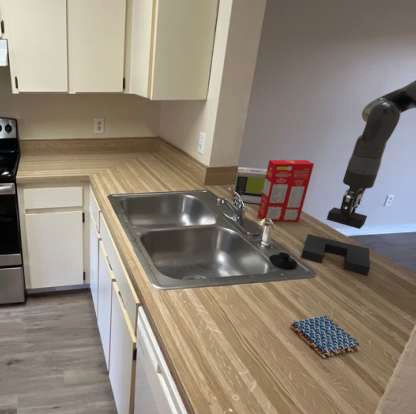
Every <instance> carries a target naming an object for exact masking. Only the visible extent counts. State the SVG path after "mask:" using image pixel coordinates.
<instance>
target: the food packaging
mask: <svg viewBox="0 0 416 414" xmlns="http://www.w3.org/2000/svg"><path fill="white" fill-rule="evenodd" d="M314 166H315V163H314V162H311V161H310V160H307V159H269V160H268V164H267V168H266V169H267V173H266V178H265V183H264V188H263V192H262V197H261V202H260V204H259V206H258V207H259V208H258V212H257V217H258V218H259V219H260V220H261V219H264V218H270V219H271V220H272V221H273V223H274V222H275V223H277V222H278V223H279V222H281V223H292V222H293V223H299V222H300V219H301V216H302V210H303V207H304V204H305V199H306V196H307V192H308V188H309V185H310V181H311V176H312V172H313V170H314Z"/></svg>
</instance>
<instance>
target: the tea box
mask: <svg viewBox="0 0 416 414" xmlns="http://www.w3.org/2000/svg"><path fill="white" fill-rule="evenodd" d="M266 173H267V168H258V167H257V168H256V167H242V166H238V167H237V170H236V177H235V182H234V183H235V185H234V191H235V192H237V193H238V194H239V195H240V197H241V198H242V200H243V201H244V202H243V203H250V204H259V205H260V202H261V197H262V192H263V188H264V183H265V178H266ZM234 191H233V192H234ZM234 199H235V197H234V196H233V200H234Z"/></svg>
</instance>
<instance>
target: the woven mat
mask: <svg viewBox="0 0 416 414" xmlns="http://www.w3.org/2000/svg"><path fill="white" fill-rule="evenodd" d="M289 327H290V328H291V329H292V330H294V331H295V332H296V333H297V334H298V335H299V337H300V338H301V339H303V340H304V341H305V342H306V343H307V344H308V345H309V346H311V347H312V348H313V349H314V350H315V352H317V354H319V355H320V356H321V357H322V358H323V359H326V358H327V356H331V357H335V354H336V355H338V354H341V353H342V354H344V353H346V351H347V352H351V353H354V352H355V350H359V348H360V347H359V346H360V343H359V342H357V339H356V338H353V337H352V336H351V334H350V333H347V332H344V331H345V329H344V328H341V327H339V324H336V323H335V322H334V320H333V319H330V318H328V316H327V315H324V316H323V315H318V316H316V317H315V316H313V317H308V318H303V319H298V320H294V321H293V322H292V324H291V323H290V326H289ZM350 336H351V337H350Z"/></svg>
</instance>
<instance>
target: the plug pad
mask: <svg viewBox="0 0 416 414" xmlns="http://www.w3.org/2000/svg"><path fill="white" fill-rule="evenodd" d="M341 213H342V212H340V208H339V207H334V206H333V208H331V209H330V210H329V211H328V213H327V216H326V221H329V222H332V223H337V224H341V223H339V219H340V216H341ZM367 218H368V215H366V214H363V213H358V212H355V213H354V212H352V213H351V214H350V217H349V220H348V223H347V224H346V225H345V226H347V227H351V228H355V229H358V230H360V229H362V228H363V226H364V225H365V223H366V220H367ZM341 225H342V224H341Z"/></svg>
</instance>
